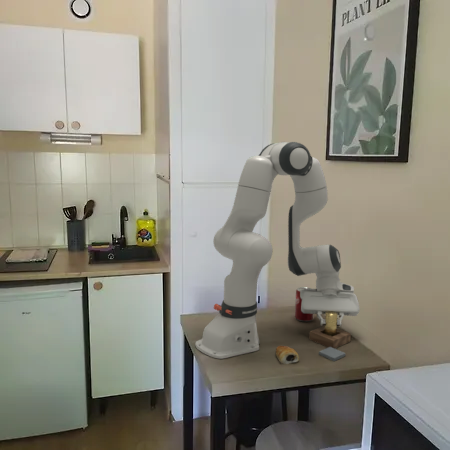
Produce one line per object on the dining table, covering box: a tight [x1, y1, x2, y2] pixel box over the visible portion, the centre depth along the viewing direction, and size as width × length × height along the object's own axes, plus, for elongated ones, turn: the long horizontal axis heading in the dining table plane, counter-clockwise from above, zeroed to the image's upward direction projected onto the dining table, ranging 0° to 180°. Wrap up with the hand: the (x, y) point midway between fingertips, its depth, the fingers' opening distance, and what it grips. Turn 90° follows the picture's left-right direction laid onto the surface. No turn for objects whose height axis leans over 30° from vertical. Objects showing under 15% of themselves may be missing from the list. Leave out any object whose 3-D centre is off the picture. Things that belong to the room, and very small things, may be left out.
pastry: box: [275, 345, 300, 365], centre depth 141 cm, size 9×7×4 cm
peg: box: [324, 311, 338, 337], centre depth 154 cm, size 4×4×10 cm
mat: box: [318, 347, 346, 362], centre depth 143 cm, size 6×6×1 cm
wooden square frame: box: [308, 325, 352, 349], centre depth 155 cm, size 10×10×3 cm
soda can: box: [294, 286, 314, 323], centre depth 174 cm, size 7×7×12 cm
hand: (331, 325), depth 153 cm, fingers closed on peg, 4 cm apart
